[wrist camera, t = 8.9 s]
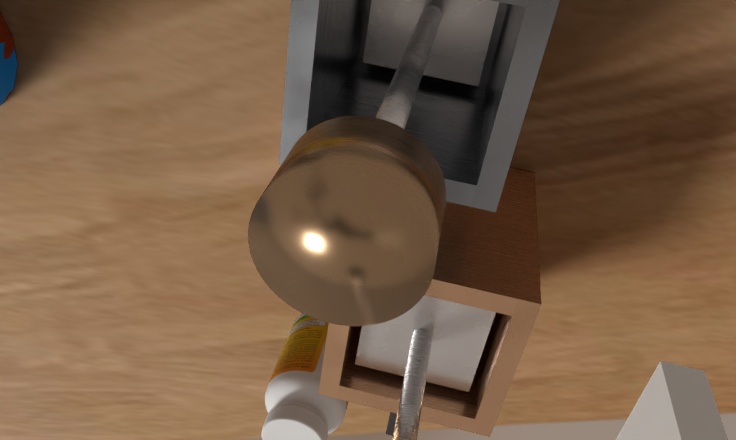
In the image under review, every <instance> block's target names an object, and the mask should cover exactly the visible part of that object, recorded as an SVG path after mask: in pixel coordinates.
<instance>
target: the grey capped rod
mask: <svg viewBox="0 0 736 440" xmlns="http://www.w3.org/2000/svg"><path fill="white" fill-rule="evenodd" d="M495 314H496V312H493V311H488V310H484V309H480V308H475V307H471V306H467V305H463V304H458V303H454V302H450V301H446V300H441V299H437V298H433V297H429V296H423V297H422V298H421V300H420V301H419V302H418V303H417V304H416V305H415V306H414V307H413V308H411V309H410V310H409V311H407V312H406V313H404V314H403V315H401V316H399V317H397V318H395V319H392V320H389V321H387V322H384V323H379V324H375V325H368V326H362V329H361V334H360V340H359V345H358V350H357V356H356V361H355V364H356V365H360V366H364V367H368V368H372V369H376V370H381V371H385V372H389V373H393V374H397V375H401V376H404V380H403V386H402V391H401V396H400V401H399V406H398V412H397V417H396V422H395V427H394V432H393V438H392V440H417V436H418V430H419V423H420V417H421V410H422V404H423V397H424V391H425V384H426V382H430V383H434V384H438V385H442V386H446V387H450V388H454V389H458V390H462V391H466V392H469V390H470V387H471V384H472V381H473V379H474V376H475V373H476V370H477V367H478V364H479V361H480V358H481V355H482V352H483V349H484V346H485V343H486V340H487V337H488V334H489V331H490V328H491V325H492V322H493V320H494V317H495Z"/></svg>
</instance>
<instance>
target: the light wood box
mask: <svg viewBox="0 0 736 440" xmlns="http://www.w3.org/2000/svg"><path fill="white" fill-rule="evenodd" d="M424 296H429V297H433V298H437V299H441V300H446V301H450V302H454V303H458V304H463V305H467V306H471V307H475V308H480V309H484V310H488V311H493V312H496V314H495V317H494V320H493V322H492V325H491V328H490V331H489V334H488V337H487V340H486V343H485V346H484V349H483V352H482V355H481V358H480V361H479V364H478V367H477V370H476V373H475V376H474V379H473V381H472V384H471V387H470V390H469V392H466V391H462V390H458V389H454V388H450V387H446V386H442V385H438V384H434V383H430V382H426V384H425V391H424V397H423V404H422V410H421V417H420V420H424V421H428V422H432V423H436V424H440V425H444V426H448V427H452V428H456V429H460V430H464V431H468V432H472V433H476V434H480V435H485V436H488V437H490V435H491V433H492V430H493V428H494V425H495V422H496V420H497V417H498V415H499V412H500V410H501V407H502V404H503V402H504V399H505V397H506V394H507V391H508V389H509V386H510V384H511V381H512V379H513V376H514V373H515V371H516V368H517V366H518V363H519V361H520V358H521V355H522V353H523V350H524V348H525V345H526V342H527V340H528V337H529V335H530V332H531V330H532V327H533V324H534V322H535V319H536V317H537V314H538V311H539V309H540V306H541V290H540V270H539V251H538V232H537V212H536V193H535V173H533V172H529V171H524V170H520V169H515V168H510V167H509V170H508V173H507V177H506V180H505V183H504V187H503V190H502V193H501V196H500V200H499V203H498V206H497V210H496V212H492V211H487V210H483V209H478V208H474V207H469V206H465V205H460V204H456V203H451V202H447V201H446V206H445V211H444V217H443V223H442V229H441V235H440V241H439V246H438V252H437V258H436V264H435V270H434V275H433V278H432V281H431V284H430V286H429V288H428V290H427V291H426V293H425V295H424ZM361 329H362V326H344V325H337V324H332V323H329V325H328V332H327V338H326V345H325V352H324V359H323V365H322V372H321V379H320V386H319V392H318V394H320V395H324V396H328V397H332V398H336V399H340V400H344V401H348V402H352V403H356V404H360V405H364V406H368V407H372V408H376V409H380V410H384V411H388V412H390V416H389V421H388V425H387V430H386V434H388V435H392V436H393V432H394V427H395V422H396V417H397V412H398V406H399V401H400V396H401V391H402V386H403V380H404V376H401V375H397V374H393V373H389V372H385V371H381V370H376V369H372V368H368V367H364V366H360V365H356V364H355V361H356V356H357V350H358V345H359V340H360V334H361Z"/></svg>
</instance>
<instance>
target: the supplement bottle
mask: <svg viewBox="0 0 736 440" xmlns="http://www.w3.org/2000/svg"><path fill="white" fill-rule="evenodd" d="M328 325H329V323H327V322H324V321H321V320H318V319H315V318H313V317H310V316H308V315H306V314H304V313H303V314H302V315H301V316H300V317H299V318H298V319H297V320H296V321H295V323H294V325H293V327H292V329H291V332H290V334H289V337H288V339H287V342H286V344H285V346H284V349H283V351H282V353H281V356H280V358H279V360H278V363H277V365H276V367H275V370H274V372H273V375H272V377H271V380H270V382H269V384H268V387H267V390H266V394H265V404H266V408H267V411H268V415H267V417H266V420H265V423H264V426H263V428H262V439H263V440H327V438H328V434H330V433H332V432H333V431H334V430H336V429H337V428H338V427H339V426H340V424H341V423H342V421H343V419H344V416H345V413H346V409H347V406H348V401H344V400H340V399H336V398H332V397H328V396H324V395H320V394H318V392H319V386H320V379H321V372H322V365H323V359H324V352H325V345H326V338H327V332H328Z"/></svg>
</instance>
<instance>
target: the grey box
mask: <svg viewBox="0 0 736 440" xmlns="http://www.w3.org/2000/svg"><path fill="white" fill-rule="evenodd" d="M371 1H372V0H291V12H290V25H289V38H288V51H287V65H286V78H285V91H284V104H283V117H282V131H281V144H280V157H279V164H281V165H282V163H283V161H284V160H285V158H286V157H287V155H288V154H289V152H290V151H291V149H292V148H293V146H294V145H295V143H296V142H297V141H298V140H299V139H300V138H301V136H302V135H303V134H305V133H306V132H307V131H308V130H310V129H311V128H313V127H314V126H316V125H318V124H320V123H322V122H325V121H327V120H330V119H333V118H338V117H343V116H368V117H375V118H376V115H377V113H378V111H379V109H380V106H381V104H382V102H383V99H384V97H385V95H386V93H387V90H388V88H389V86H390V84H391V81H392V79H393V77H394V74H395V72H396V70H397V69H393V68H388V67H383V66H379V65H374V64H369V63H364V62H363V57H364V50H365V43H366V36H367V29H368V22H369V15H370V8H371ZM492 1H497V2H499V6H498V10H497V14H496V18H495V22H494V26H493V30H492V34H491V38H490V42H489V46H488V50H487V54H486V58H485V62H484V65H483V69H482V73H481V77H480V81H479V85H478V86H475V85H470V84H465V83H460V82H455V81H451V80H446V79H441V78H436V77H431V76H427V75H422V78H421V81H420V84H419V87H418V90H417V93H416V96H415V99H414V102H413V105H412V108H411V111H410V114H409V117H408V120H407V123H406V126H405V130H407V131H409V132H410V133H411V134H413V135H414V136H415V137H417V138H418V139H419V140H420V141H421V142H422V143H423V144H424V145H425V146H426V147H427V148H428V149H429V151H430V152H431V153H432V154H433V156H434V158H435V159H436V161H437V162H438V164H439V167H440V169H441V171H442V174H443V177H444V181H445V186H446V201H447V202H451V203H456V204H460V205H465V206H469V207H474V208H478V209H483V210H487V211H492V212H496V210H497V206H498V203H499V200H500V196H501V193H502V190H503V187H504V183H505V180H506V177H507V173H508V170H509V167H510V164H511V160H512V157H513V154H514V150H515V147H516V144H517V140H518V137H519V134H520V131H521V127H522V124H523V121H524V117H525V114H526V111H527V108H528V104H529V101H530V98H531V94H532V91H533V88H534V85H535V81H536V78H537V75H538V71H539V68H540V65H541V61H542V58H543V55H544V52H545V48H546V45H547V42H548V38H549V35H550V32H551V29H552V25H553V22H554V19H555V15H556V12H557V9H558V5H559V2H560V0H492Z"/></svg>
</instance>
